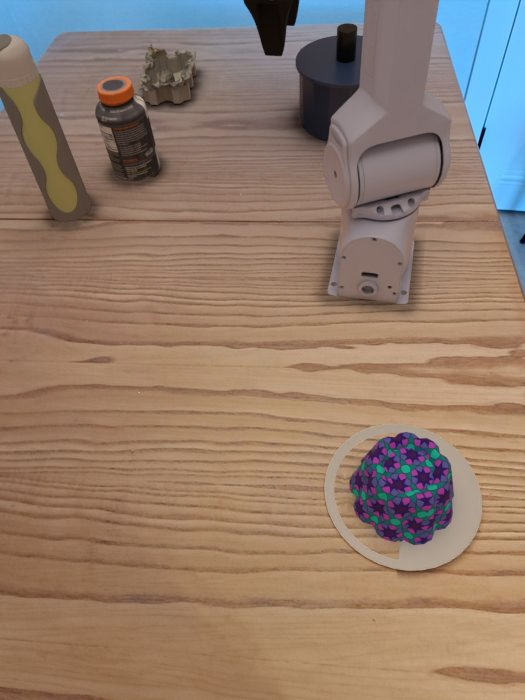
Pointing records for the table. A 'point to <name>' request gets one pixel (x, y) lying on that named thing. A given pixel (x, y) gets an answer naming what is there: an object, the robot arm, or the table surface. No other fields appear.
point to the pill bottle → (126, 130)
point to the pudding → (410, 496)
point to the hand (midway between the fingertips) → (280, 39)
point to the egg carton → (167, 76)
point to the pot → (320, 106)
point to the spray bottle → (40, 132)
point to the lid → (333, 59)
